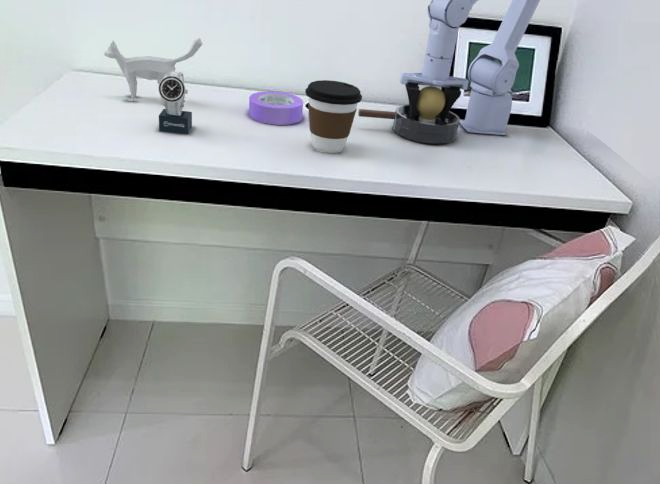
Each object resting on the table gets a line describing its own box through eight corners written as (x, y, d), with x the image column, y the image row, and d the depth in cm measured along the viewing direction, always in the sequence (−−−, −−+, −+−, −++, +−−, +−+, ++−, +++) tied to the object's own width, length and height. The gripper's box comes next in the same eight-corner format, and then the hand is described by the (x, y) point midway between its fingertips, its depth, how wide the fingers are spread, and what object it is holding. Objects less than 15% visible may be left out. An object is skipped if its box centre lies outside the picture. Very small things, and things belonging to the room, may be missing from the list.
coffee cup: (328, 134, 134) (335, 77, 127) (366, 152, 128) (374, 92, 121) (289, 143, 127) (294, 82, 120) (326, 161, 121) (333, 99, 114)
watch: (156, 134, 122) (154, 76, 116) (166, 121, 129) (164, 65, 123) (186, 137, 122) (185, 80, 117) (194, 124, 129) (193, 69, 123)
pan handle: (393, 118, 140) (394, 110, 139) (394, 120, 138) (396, 113, 138) (357, 115, 138) (358, 107, 138) (358, 117, 137) (359, 110, 136)
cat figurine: (109, 93, 139) (104, 26, 131) (203, 101, 142) (203, 35, 135) (106, 100, 135) (100, 30, 128) (201, 107, 139) (202, 40, 131)
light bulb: (431, 138, 138) (440, 93, 133) (405, 131, 140) (413, 85, 135) (443, 132, 143) (452, 87, 137) (418, 124, 145) (426, 80, 140)
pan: (446, 125, 149) (450, 107, 146) (463, 147, 137) (467, 127, 135) (387, 121, 147) (390, 101, 144) (399, 142, 135) (402, 122, 132)
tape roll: (261, 126, 133) (262, 108, 131) (240, 108, 141) (241, 91, 139) (310, 123, 138) (312, 106, 136) (288, 106, 147) (289, 90, 145)
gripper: (409, 56, 128) (398, 122, 135) (477, 63, 131) (463, 127, 138) (402, 48, 134) (392, 111, 141) (468, 55, 137) (454, 117, 144)
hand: (426, 118), depth 140 cm, fingers closed on light bulb, 6 cm apart
